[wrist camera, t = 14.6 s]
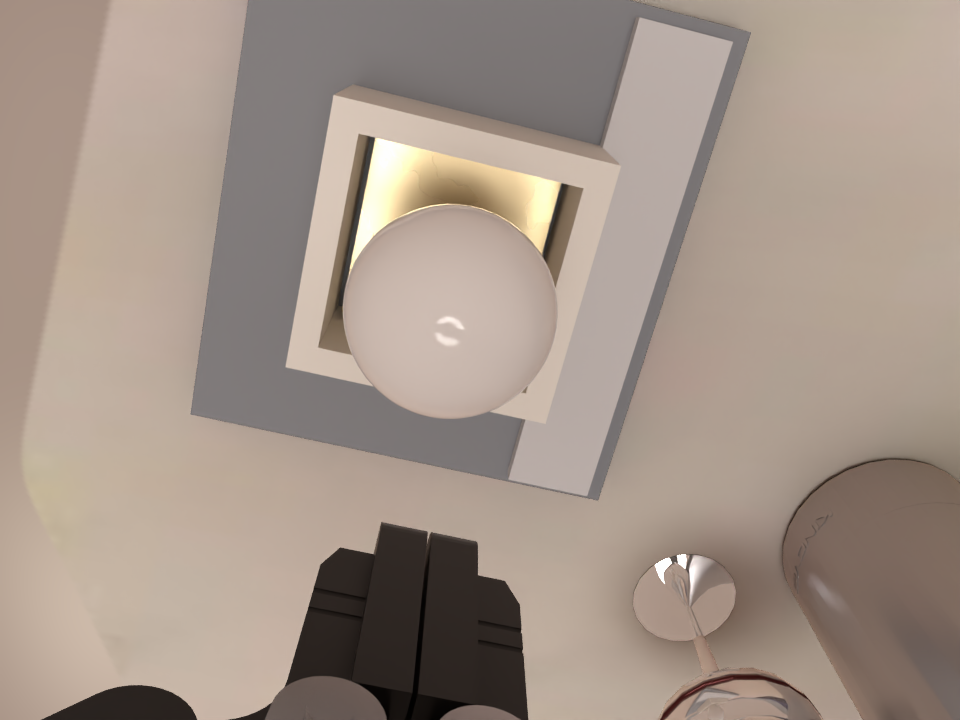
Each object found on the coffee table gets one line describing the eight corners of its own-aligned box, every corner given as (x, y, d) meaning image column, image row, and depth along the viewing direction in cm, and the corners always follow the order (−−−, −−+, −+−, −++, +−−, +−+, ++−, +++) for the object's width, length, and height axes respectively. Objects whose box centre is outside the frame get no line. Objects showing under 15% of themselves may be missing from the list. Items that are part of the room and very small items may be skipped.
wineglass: (706, 674, 45) (784, 892, 34) (588, 624, 44) (628, 832, 33) (782, 572, 43) (891, 767, 32) (660, 516, 42) (729, 699, 30)
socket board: (739, 31, 34) (797, 34, 28) (593, 484, 41) (614, 564, 35) (271, -92, 33) (224, -118, 27) (200, 400, 39) (151, 469, 33)
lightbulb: (560, 277, 35) (610, 392, 24) (417, 351, 36) (407, 493, 25) (483, 129, 32) (502, 187, 22) (332, 212, 33) (284, 306, 23)
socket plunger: (559, 171, 35) (562, 177, 33) (514, 338, 37) (515, 350, 36) (380, 127, 34) (376, 132, 33) (346, 300, 36) (341, 311, 35)
